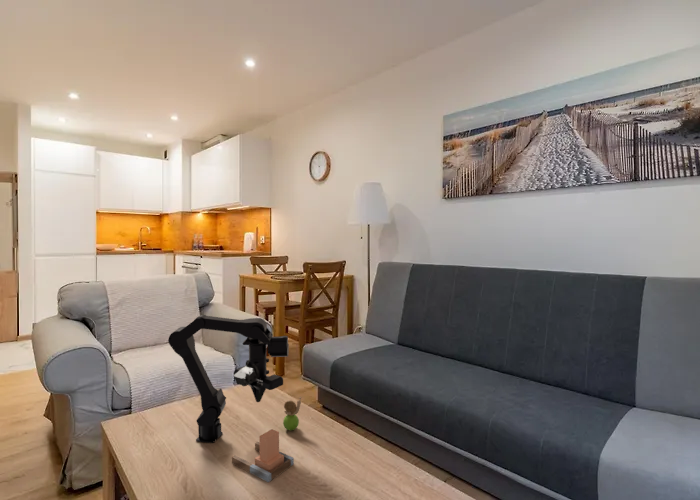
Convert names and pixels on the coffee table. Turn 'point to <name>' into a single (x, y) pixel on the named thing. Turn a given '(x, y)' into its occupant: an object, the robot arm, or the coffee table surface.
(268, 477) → the beam slot
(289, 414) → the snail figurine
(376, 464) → the coffee table surface
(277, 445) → the block
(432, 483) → the coffee table surface
